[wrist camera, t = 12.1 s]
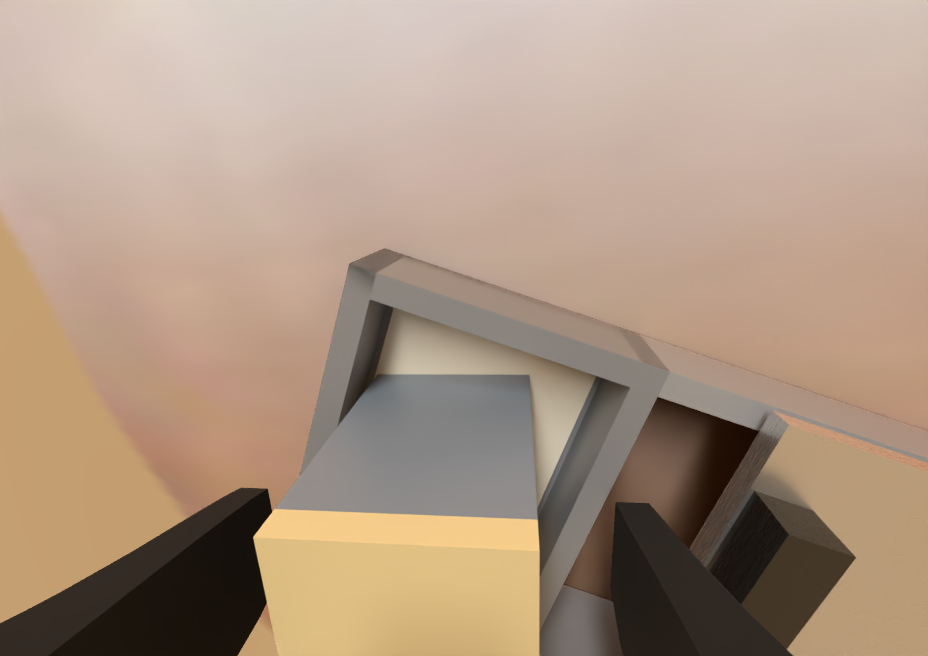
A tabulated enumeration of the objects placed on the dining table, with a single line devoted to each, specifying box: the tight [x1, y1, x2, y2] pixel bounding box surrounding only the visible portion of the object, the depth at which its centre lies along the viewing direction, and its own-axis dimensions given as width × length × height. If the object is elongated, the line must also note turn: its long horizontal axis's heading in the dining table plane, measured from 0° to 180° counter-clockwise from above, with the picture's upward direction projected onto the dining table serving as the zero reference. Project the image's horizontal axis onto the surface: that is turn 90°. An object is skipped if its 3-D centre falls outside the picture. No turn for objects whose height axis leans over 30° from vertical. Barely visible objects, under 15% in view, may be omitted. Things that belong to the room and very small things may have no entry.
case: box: [299, 249, 928, 656], centre depth 12 cm, size 16×9×3 cm, turn 73°
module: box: [253, 374, 540, 656], centre depth 10 cm, size 4×4×6 cm
